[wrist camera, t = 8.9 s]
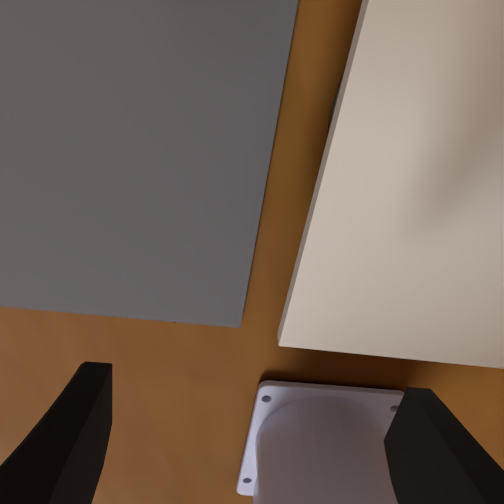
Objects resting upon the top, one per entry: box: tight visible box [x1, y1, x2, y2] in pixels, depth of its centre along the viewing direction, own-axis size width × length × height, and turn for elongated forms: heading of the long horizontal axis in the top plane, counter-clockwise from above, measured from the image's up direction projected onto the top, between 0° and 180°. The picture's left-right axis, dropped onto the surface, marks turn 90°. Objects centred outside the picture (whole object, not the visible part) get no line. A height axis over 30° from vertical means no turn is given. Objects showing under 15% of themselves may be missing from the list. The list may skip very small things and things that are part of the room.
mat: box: [0, 0, 298, 328], centre depth 18 cm, size 17×17×1 cm
